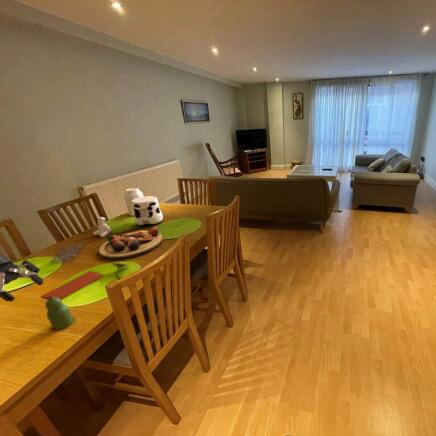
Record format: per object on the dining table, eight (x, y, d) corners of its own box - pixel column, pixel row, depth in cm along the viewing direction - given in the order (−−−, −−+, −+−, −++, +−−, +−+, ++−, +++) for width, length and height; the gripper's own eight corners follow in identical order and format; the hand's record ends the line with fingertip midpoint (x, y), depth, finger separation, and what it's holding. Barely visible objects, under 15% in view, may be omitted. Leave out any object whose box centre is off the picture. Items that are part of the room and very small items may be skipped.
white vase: (151, 211, 195) (145, 187, 188) (138, 216, 184) (131, 191, 176) (138, 209, 198) (132, 186, 191) (125, 215, 187) (118, 190, 180)
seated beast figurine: (92, 235, 155) (86, 218, 150) (106, 230, 162) (101, 213, 157) (102, 238, 151) (95, 220, 147) (115, 232, 158) (110, 215, 154)
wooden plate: (159, 229, 163) (157, 218, 159) (166, 249, 138) (163, 236, 135) (101, 242, 146) (97, 229, 143) (97, 266, 122) (92, 252, 119)
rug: (49, 264, 124) (48, 262, 123) (63, 247, 140) (62, 246, 140) (73, 259, 128) (72, 258, 127) (84, 244, 144) (83, 242, 144)
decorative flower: (124, 267, 108) (111, 256, 117) (115, 280, 107) (103, 268, 115) (140, 272, 114) (127, 261, 123) (132, 284, 113) (119, 273, 121)
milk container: (156, 216, 184) (150, 194, 178) (168, 221, 175) (163, 198, 168) (132, 224, 171) (125, 200, 164) (143, 230, 162) (137, 204, 155)
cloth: (57, 301, 98) (56, 301, 98) (42, 296, 101) (41, 295, 101) (104, 275, 115) (103, 275, 115) (90, 271, 118) (89, 271, 118)
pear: (59, 331, 84) (44, 303, 79) (49, 327, 86) (34, 299, 81) (77, 320, 89) (64, 292, 84) (67, 316, 91) (54, 289, 86)
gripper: (-43, 266, 73) (5, 300, 76) (14, 244, 86) (53, 273, 89) (-46, 279, 76) (-1, 311, 79) (9, 255, 89) (47, 284, 92)
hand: (28, 291), depth 84 cm, fingers open, 8 cm apart
